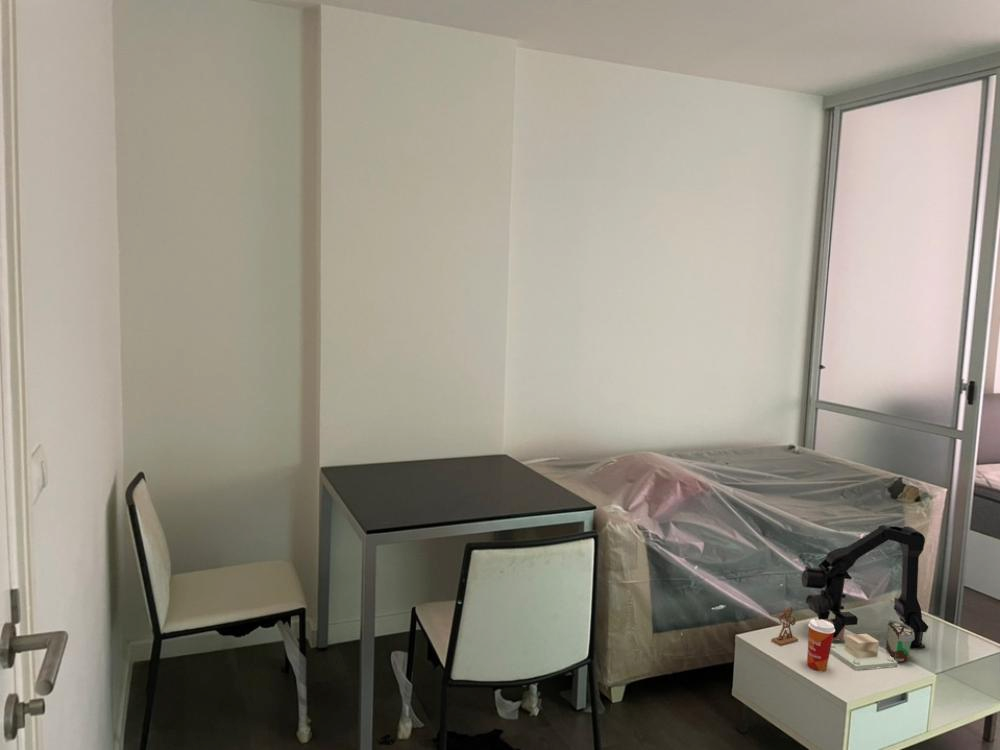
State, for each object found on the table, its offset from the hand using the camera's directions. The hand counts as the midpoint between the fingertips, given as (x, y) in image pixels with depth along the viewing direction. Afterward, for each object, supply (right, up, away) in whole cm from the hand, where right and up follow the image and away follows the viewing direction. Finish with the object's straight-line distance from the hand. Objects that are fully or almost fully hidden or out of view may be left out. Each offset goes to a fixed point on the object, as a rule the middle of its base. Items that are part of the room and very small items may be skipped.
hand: (828, 633), depth 261 cm
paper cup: (-13, -3, -22) cm, 26 cm away
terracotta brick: (0, -1, 0) cm, 1 cm away
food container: (+18, -4, -12) cm, 22 cm away
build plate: (+4, -3, -14) cm, 15 cm away
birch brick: (+4, -2, -14) cm, 15 cm away
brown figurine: (-17, -1, -6) cm, 18 cm away
